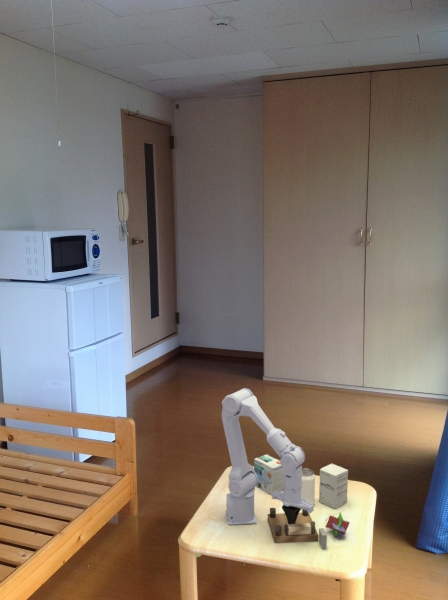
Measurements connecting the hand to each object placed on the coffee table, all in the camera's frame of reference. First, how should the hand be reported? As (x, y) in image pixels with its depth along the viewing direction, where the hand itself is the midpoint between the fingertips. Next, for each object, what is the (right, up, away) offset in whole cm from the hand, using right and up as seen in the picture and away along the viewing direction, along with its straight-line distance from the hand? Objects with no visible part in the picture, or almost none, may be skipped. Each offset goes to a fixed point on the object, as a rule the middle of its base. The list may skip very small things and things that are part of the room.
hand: (292, 526), depth 179 cm
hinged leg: (+2, -1, -2) cm, 3 cm away
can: (+7, -1, +21) cm, 22 cm away
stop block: (+9, -4, -5) cm, 11 cm away
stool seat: (0, -3, +4) cm, 5 cm away
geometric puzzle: (+15, -3, +1) cm, 15 cm away
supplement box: (+17, 0, +21) cm, 27 cm away
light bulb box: (-5, +1, +33) cm, 33 cm away
